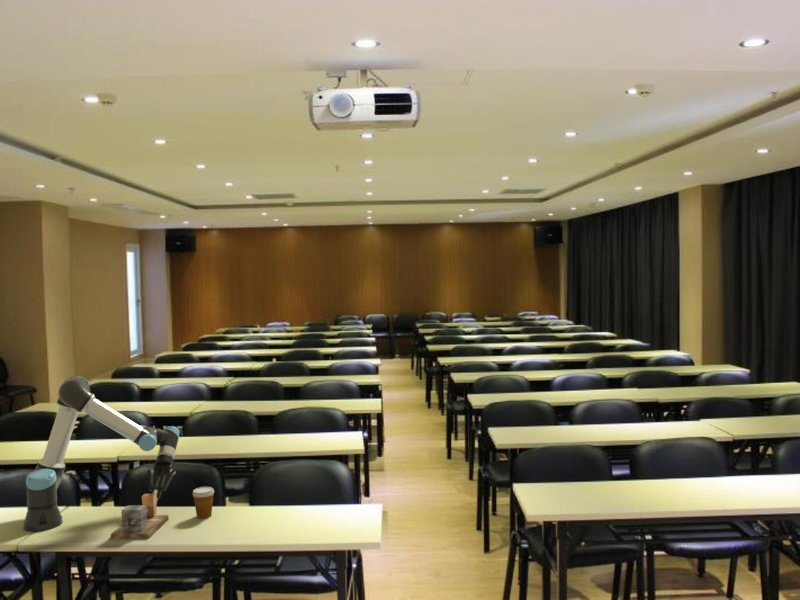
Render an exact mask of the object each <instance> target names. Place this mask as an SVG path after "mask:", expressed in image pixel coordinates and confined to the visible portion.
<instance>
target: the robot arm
mask: <svg viewBox="0 0 800 600" xmlns="http://www.w3.org/2000/svg"><path fill="white" fill-rule="evenodd" d="M57 395H58V398H57V401H56V404H57V406H58V409H57V413H56V415H55V420H54V422H53V425H52V429H51V431H50V435H49V437H48V442H47V444H46V448H45V450H44V454H43V457H42V458H40V459H39V460H38V461H37V464H36V467H35V470H33V471H31V472H29V473H28V474H27V475H26V480H25V486H26V505H27V506H26V507H27V511H26V514H25V519H24V521H23V530H25V531H27V532H39V531H46V530H52V529H54V528H56V527H59V526H61V525H62V524H63V516H62V514H61V511H60V509H59V507H58V494H57V493H58V491H57V490H58V488H59V486H60V485H61V483H62V481H63V476H64V475H63V474H64V471H65V469H66V464H65V462H64V460H65V456H66V453H67V450H68V446H69V444H70V441H71V438H72V435H73V431H74V428H75V425H76V421H77V419H78V416H79V413H80V414H82V413H85V414H86V415H88V416H90V417H91V418H93V419H94V420H96V421H98V422H99V423H101V424H103V425H104V426H106V427H108V428H109V429H111V430H113V431H115V432H116V433H118V434H119V435H121V436H122V437H124V438H125V439H127V440H129V441H131V442H132V443H134V444H135V445H137V446H138V447H139V449H141V450H142V451H144V452H150V451H152V450H154V449H155V447H156V446H159V448H158V453H157V456H156V458H155V459H156V460H155V464H154V466H153V468H152V469H148V470H147V474H148V489H149V491H150V492H151V494H156V505H157V504H158V500H159V499H160V498H161V496H162V492H166V491H167V489H168V487H169V485H170V483H171V482H172V479H173V477H174V476H175V475H176V474H177V472H176V471H175V469H173V468H172V466H173V463H174V458H175V454H176V450H177V448H178V443H179V439H180V430H179V428H177V427H176V426H173V425H171V426H169V425H168V426H166V427H165V428H164V429H160V428H156V427H151V426H147V425H139V424H138V423H136V422H134V421H133V420H132V419H130V418H128V417H126V416H125V415H123V414H122V413H120V412H118V411H117V410H115V409H114V408H112V407H110V406H109V405H107V404H106V403H104V402H102V401H100V399H97V398H96V396H95V394H94V393H92V392H91V385H90V382H89V381H88V380H87V379H86V378H85V377H84V376H83V377H82V376H81V375H73V376H70V377H68V378H66V379H65V380H64V382H63V383H61V385H60V386H59V388H58V394H57ZM154 475H155V477H154Z"/></svg>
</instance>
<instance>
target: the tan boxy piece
mask: <svg viewBox="0 0 800 600" xmlns="http://www.w3.org/2000/svg"><path fill="white" fill-rule="evenodd" d="M141 504H142V505H146V512H147V516H155V515H158V514H157V513H158V512H157V504H156V494H152V493H144V494H143V495H142V496H141Z"/></svg>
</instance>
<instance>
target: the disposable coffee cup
mask: <svg viewBox="0 0 800 600" xmlns="http://www.w3.org/2000/svg"><path fill="white" fill-rule="evenodd" d="M214 493H215V490H214V488H213V487H211V486H200V487H197V488H195V489H193V490H192V497H193V501H194V506H195V513H196V518H198V519H200V518H201V519H203V518H204V519H208V518H211V517H212V513H213V512H212V511H213V502H214ZM204 519H203V520H204Z"/></svg>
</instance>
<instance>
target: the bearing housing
mask: <svg viewBox="0 0 800 600" xmlns="http://www.w3.org/2000/svg"><path fill="white" fill-rule="evenodd" d="M169 518H170V517H169V514H160V515H158V514H156V515H155V516H147V512H146V505H141V504H138V505H135V504H133V505H126V506H125V507H124V508H123V509H121V525H120V526H119V527H117V528H116V529H115V530H113V532H111V533H110V539H111V540H117V539H118V540H120V539H121V540H123V539H126V540H127V539H128V540H134V539H135V540H136V539H137V540H141V539H142V540H143V539H150V538H151V537H152V536H153V535H155V533H156V532H157V531H159V529H160V528H162V527H163V525H164V524H165V523H167V522H169Z"/></svg>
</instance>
